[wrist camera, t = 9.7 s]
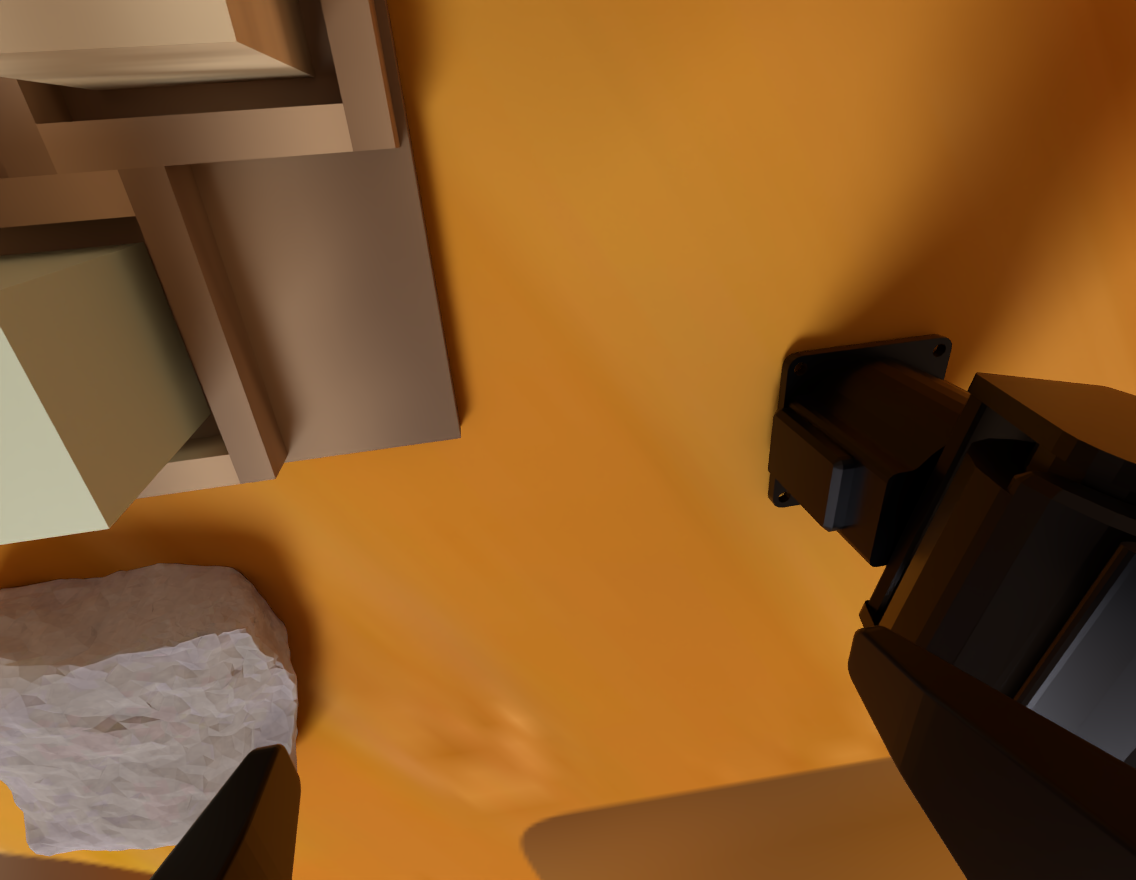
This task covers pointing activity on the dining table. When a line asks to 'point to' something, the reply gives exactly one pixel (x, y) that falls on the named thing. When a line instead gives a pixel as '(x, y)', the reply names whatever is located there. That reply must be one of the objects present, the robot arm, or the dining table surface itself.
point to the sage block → (87, 388)
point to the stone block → (136, 701)
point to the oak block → (152, 42)
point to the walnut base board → (257, 242)
